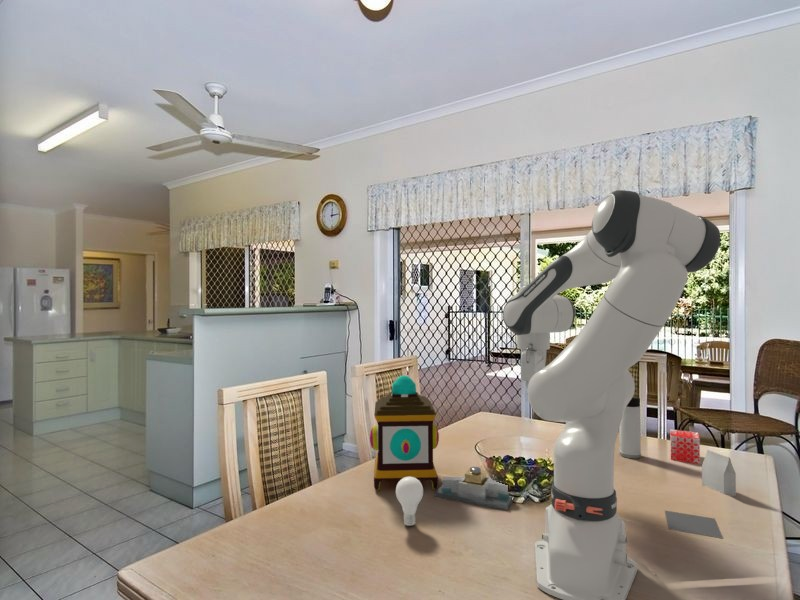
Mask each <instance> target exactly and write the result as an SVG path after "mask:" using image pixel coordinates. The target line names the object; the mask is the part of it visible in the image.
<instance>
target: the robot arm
mask: <svg viewBox="0 0 800 600" xmlns="http://www.w3.org/2000/svg"><path fill="white" fill-rule="evenodd" d="M720 232H721V231H720V229H719V228H718V227H717V225H716V224H714V222H713V221H711V220H709V219H707V218H705V217H704V216H701V215H695V214H694V213H692V212H689V211H687V210H685V209H683V208H681V207H678V206H676V205H673V204H672V203H671V202H668V201H665V200H662V199H659V198H655V197H651V196H647V195H642V194H639V193H638V192H637V191H631V190H625V189H624V190H623V189H622V190H620V189H619V190H613V191H612V192H611V193H609V194H607V195H605V196H604V197H603V199H602V201H600V203H599V204H598V206H597V208H596V209H595V212H594V214H593V217H592V221H591V230H590V231H589V232H588V233H587V234H586V236H584V238H583V239H582V240H581V241H579V242H578V243H577V244H575V246H574V247H572V248H571V249H569V250H568V251H567V252H565V253H563V254H562V255H561V256H559V257H557V258H556V259H555V260H553V261H551V263H549V264H548V265H547V266H546V267H545V268H544V269H542V271H541V272H540V273H539V274H538V275H536V277H535V278H534V279H532V281H530V283H529V284H524V285H523V286H521V287H520V288H518V289H519V290H518V292H517V294H514V295H512V296H511V297H510V298H509V299H508V301H506V303H505V305H504V307H503V310H502V320H503V322H504V324H505V326H506V327H507V328H508V330H510V331H511V333H513V334H514V335H516V348H517V349H518V350H521V355H520V356H521V359H520V379H521V380H522V381H523V382H525V386H526V394H527V399H528V403H529V405H530V407H531V409H532V410H533V412H534V413H535V414H536V415H537V416H538V417H539V418H540V419H542V420H545V421H548V422H556V423H565V425H564V427H563V430H562V431H561V433H560V435H559V436H558V437H557V439H556V440H555V443H554V446H553V481H552V482H551V490H550V495H551V503H550V505H548V506H547V507H545V533H544V532H543V533H542V534H541V539H542V540H538V541H535V543H534V556H535V557H534V558H535V560H534V561H535V573H536V575H535V576H536V586H537V588H539V590H541V591H543V592H544V593H546V594H548V595H550V596H553V597H555V598H557V599H561V600H626V599H627V597H628V595H629V593H630V590H631V588H632V585H633V584H634V580H635V577H636V576H637V572H638V570H639V569H638V564H637V563H636V561H634V560H633V559H631V558H629V557H628V552H627V541H628V539H627V535H626V524H625V521H624V520H623V519H622V518H621V517H620V516H619V515H618V513H617V511H618V509H617V507H618V506H617V505H618V498H617V491H616V489H615V485H614V483H615V482H614V481H615V478H614V477H615V475H614V474H615V473H614V472H615V466H614V465H615V451H616V450H615V449H616V443H617V438H618V434H619V427H620V423H621V420H622V416H623V413H624V411H625V408H626V406H627V405H628V403H629V402H630V400H631V399H632V397H634V394H635V389H636V384H635V380H634V378H633V375H632V373H631V372H630V370H629V369H630V368H631V367H633V366H634V365H636V364H637V363H638V362H639V361H640V360H641V359H642V358H643V356H644V355H645V354H646V352H647V350H648V349H649V347H650V346H651V345H652V344H653V342H654V340H655V339H656V338H657V336H658V334H659V333H660V332H661V330H662V329H663V327H664V326H665V324H666V323H667V321H668V320H669V319H670V316H671V315H672V313H673V311H674V310H675V309H676V306H677V304H678V302H679V300H680V298H681V295H683V292H684V289H685V287H686V283H687V281H688V275H689V273H691V274H692V273H696V272H699V271H701V270H702V269H704V268H705V267H706V266H708V265H709V264H710V263H711V262H712V261H713V259H714V258H715V256H716V255H717V254H718V252H719V251H718V250H719V248H720V245H721V233H720ZM611 281H612V282H611ZM608 282H611V283H610V284H609V286H608V287H607V290H606V291H605V292H604V294H603V296H602V298H601V299H600V301H599V303H598V304H597V306H596V307H595V309H594V311H593V313H592V314H591V315H590V317H589V318H588V321H587V322H586V323H585V325H584V326H583V328H582V329H581V330H580V332H579V333H578V334H577V335H576V336H575V337H574V338H573V340H572V341H570V342H569V344H568V345H567V346H566V347H565V348H563V350H562V351H561V352H560V353H559V354H558V355H557V356H556V357H555V358H554V359H553V360H552V361H551V362H550V363H548V364H547V365H546V362H547V353H548V352H547V350H550V349H551V333H564V332H567V331H569V329H571V328H572V326H573V324H574V323H575V319H576V311H575V306H574V303H573V302H572V301H571V300H570V299H569V298H568V297H567V296H562V295H559V294H560V293H562V292H564V291H567V290H570V289H574V288H575V289H576V288H580V287H581V288H582V287H586V286H594V285H596V286H597V285H601V284H606V283H608Z"/></svg>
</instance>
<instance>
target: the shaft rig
mask: <svg viewBox="0 0 800 600" xmlns="http://www.w3.org/2000/svg"><path fill="white" fill-rule="evenodd" d="M490 477H491V476H487V475H486V482H485V483H484V485H477V484H471V483H465V474H464V475H463V477H461V476H442V484H441V485H440V487H438V488H437V490H435V492H434V497H435V498H440V499H444V500H449V501H450V500H451V501H455V502H461V503H466V504H471V505H476V506H481V507H488V508H492V509H497V510H502V511H503V510H504V511H508V510H509V509H510V506H511V505H512V503H513V502H514V499H513V500H512V497H509V493H508V485H505V484H502V483H499V482H496V481H497V480H493V478H492V479H491V478H490Z"/></svg>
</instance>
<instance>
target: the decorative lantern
mask: <svg viewBox="0 0 800 600" xmlns="http://www.w3.org/2000/svg"><path fill="white" fill-rule="evenodd" d="M373 414H374V418H375V420H376V423H377V425H374V426H372V428H371V430H370V433H369V443H370V447H371V448H372V449H373V450H374V451H378V452H377V454H376V456H375V459H374V472H373V473H374V474H373V486H374V490H375V491H380V485H381V482H391V481H392V482H393V481H394V482H395V481H398V482H399V481H400V480H401V479H402V478H404V477H408V476H411V477H415V478H416V479H418V480H419V481H430V482H431V487H432V489H433V490H436V489H437V490H438V485H439V477H438V474H437V469H436V467H435V464H434V450H435V449H436V448H437V447H438V445H439V441H440V433H439V430H438V428H437V426H436V425H434V421H435V419H436V417H437V412H436V410H435V408H434V406H433V404H432V402H431V401H430V399H429V398H427V396H425V395H421V394H419V393H418V392H417V386H416V382H414V380H413V379H412V378H411V377H410V376H408V375H405V374H404V375H400V376H399V377H397V378H396V379H395V380H394V382H393V383H392V385H391V392H389V393H388V394H387V395H386V396H381V397H380V398H379V399H377V401H375V405H374V413H373Z"/></svg>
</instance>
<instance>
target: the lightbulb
mask: <svg viewBox="0 0 800 600" xmlns="http://www.w3.org/2000/svg"><path fill="white" fill-rule="evenodd" d="M423 486H424V485H423V483H422V482H421V480H418V479H416V478H415V477H411V476H408V477H404V478H402V479H401V480H400V481H398V482H397V484H396V487H395V497H396V499H397V501H398V502H399V504H400V505H401V508H402V512H403V524H404V525H405V526H408V527H412V526H414V525H415V524H416V519H417V518H416V514H417V510H418V506H419V504H420V503H421V501H422V499H423V496H424V487H423Z"/></svg>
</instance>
